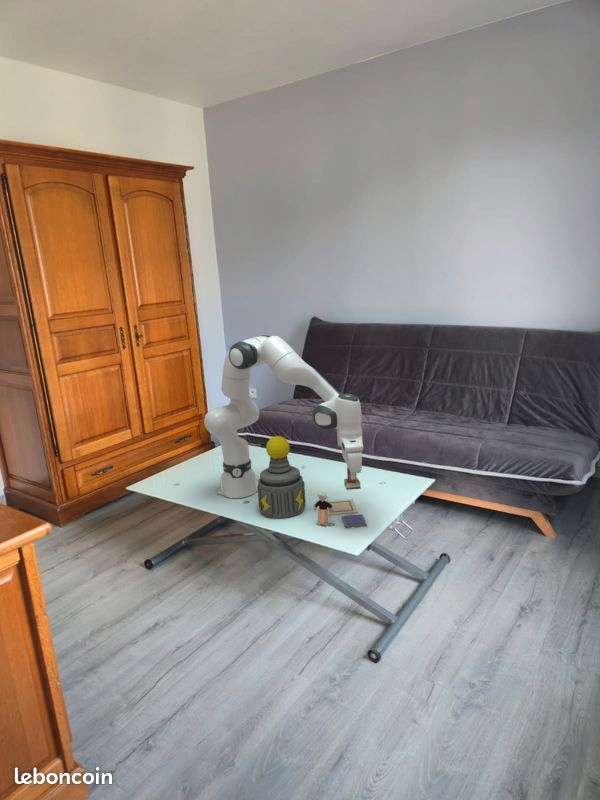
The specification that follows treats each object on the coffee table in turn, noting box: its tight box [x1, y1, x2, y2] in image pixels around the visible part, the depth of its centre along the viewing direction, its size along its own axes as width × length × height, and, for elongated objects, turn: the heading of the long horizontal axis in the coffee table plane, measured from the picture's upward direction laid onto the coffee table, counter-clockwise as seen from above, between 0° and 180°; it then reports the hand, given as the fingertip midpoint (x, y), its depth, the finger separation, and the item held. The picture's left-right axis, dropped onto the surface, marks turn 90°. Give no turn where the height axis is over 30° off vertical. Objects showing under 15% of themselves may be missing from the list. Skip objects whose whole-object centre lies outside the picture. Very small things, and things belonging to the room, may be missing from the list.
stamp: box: [343, 468, 362, 491], centre depth 193 cm, size 5×5×7 cm
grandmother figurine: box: [313, 491, 334, 527], centre depth 196 cm, size 8×4×13 cm, turn 81°
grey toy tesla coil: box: [257, 435, 306, 519], centre depth 210 cm, size 19×19×30 cm
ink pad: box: [341, 513, 368, 529], centre depth 197 cm, size 8×8×1 cm
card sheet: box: [327, 498, 359, 516], centre depth 211 cm, size 12×12×1 cm
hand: (351, 476), depth 193 cm, fingers closed on stamp, 3 cm apart
